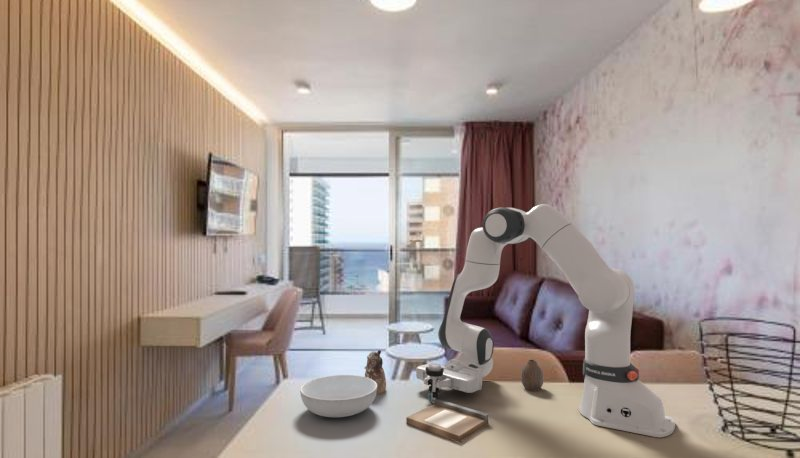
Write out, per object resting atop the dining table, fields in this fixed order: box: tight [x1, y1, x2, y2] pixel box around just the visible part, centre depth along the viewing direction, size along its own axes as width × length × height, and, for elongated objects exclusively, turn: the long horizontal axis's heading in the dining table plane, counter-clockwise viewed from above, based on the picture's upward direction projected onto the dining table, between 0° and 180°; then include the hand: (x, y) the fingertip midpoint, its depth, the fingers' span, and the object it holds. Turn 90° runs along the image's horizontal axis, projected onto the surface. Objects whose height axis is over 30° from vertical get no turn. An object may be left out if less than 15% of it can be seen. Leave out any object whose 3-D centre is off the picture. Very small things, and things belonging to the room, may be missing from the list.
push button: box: [426, 363, 444, 404], centre depth 129 cm, size 7×5×10 cm
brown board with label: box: [405, 398, 490, 443], centre depth 113 cm, size 16×14×2 cm
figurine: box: [364, 349, 387, 395], centre depth 138 cm, size 7×7×12 cm
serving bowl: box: [299, 374, 377, 418], centre depth 121 cm, size 21×21×7 cm
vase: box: [520, 359, 545, 392], centre depth 140 cm, size 7×7×9 cm
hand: (431, 383), depth 128 cm, fingers closed on push button, 2 cm apart
